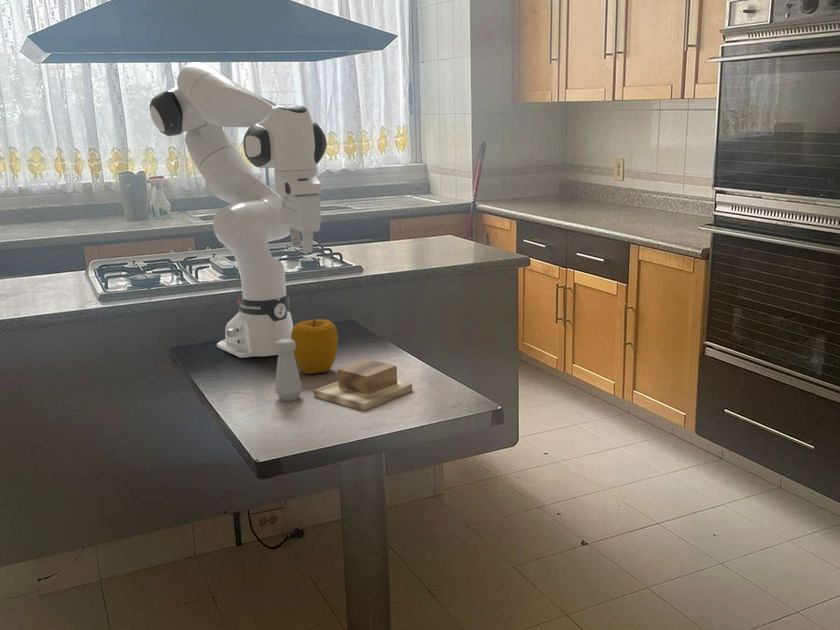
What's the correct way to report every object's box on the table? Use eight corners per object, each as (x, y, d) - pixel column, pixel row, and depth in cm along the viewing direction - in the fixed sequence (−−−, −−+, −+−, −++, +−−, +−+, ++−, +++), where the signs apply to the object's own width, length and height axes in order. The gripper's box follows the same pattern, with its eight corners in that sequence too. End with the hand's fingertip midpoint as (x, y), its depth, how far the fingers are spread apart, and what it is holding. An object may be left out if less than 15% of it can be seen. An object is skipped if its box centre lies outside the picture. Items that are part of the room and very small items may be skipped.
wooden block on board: (314, 396, 174) (312, 372, 173) (363, 378, 185) (361, 355, 184) (363, 410, 165) (362, 385, 163) (412, 390, 176) (411, 366, 174)
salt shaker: (297, 403, 170) (292, 344, 167) (271, 402, 171) (266, 343, 168) (306, 394, 176) (302, 336, 173) (281, 393, 177) (277, 336, 174)
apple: (315, 382, 184) (311, 327, 181) (283, 374, 190) (279, 321, 187) (349, 370, 192) (346, 317, 189) (318, 362, 199) (314, 311, 195)
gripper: (271, 182, 178) (277, 245, 181) (292, 187, 159) (298, 257, 162) (299, 180, 180) (304, 242, 183) (324, 185, 161) (329, 253, 164)
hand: (302, 249), depth 172 cm, fingers open, 8 cm apart
